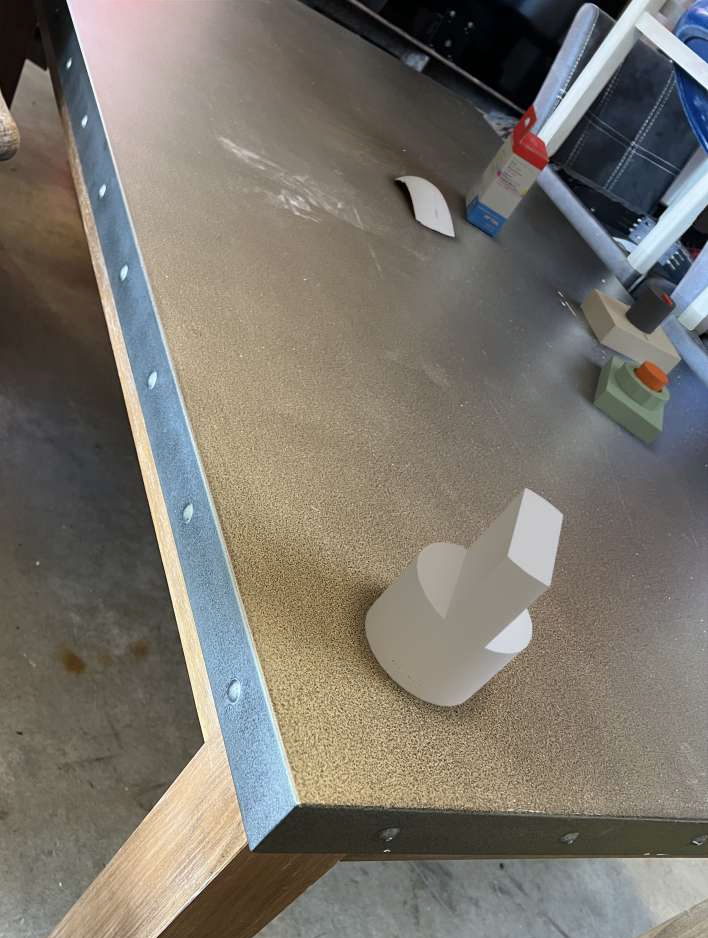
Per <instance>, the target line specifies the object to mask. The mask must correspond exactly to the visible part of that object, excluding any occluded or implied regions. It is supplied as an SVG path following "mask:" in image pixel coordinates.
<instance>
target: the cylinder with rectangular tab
mask: <svg viewBox="0 0 708 938" xmlns="http://www.w3.org/2000/svg"><path fill="white" fill-rule="evenodd" d="M563 519H564V514H563V513H562V512H561V511H560V510H559V509H557V508H556V507H555V506H554V505H553V504H551V503H550V502H549V501H547V499H545V498H543V497H542V496H541V495H539V494H538V493H535V492H534V491H532V490H531V489H529V488H527V487H525V488H524V489H522V491H521V492H520V493H519V494H518V495H517V496H516V497H515V498H514V499H513V500H512V501H511V502H510V503H509V504H508V505H507V506H506V507H505V509H504V510H503V511H502V512H501V513H500V514H499V515H498V516H497V517H496V518H495V519H494V521H492V522H491V523H490V525H488V526H487V527H486V529H485V530H484V531H483V532H482V533H481V534H480V535H479V536H478V537H477V539H476V540H474V542H472V544H471V545H470V546H469V547H468V548H465V547H463V546H462V545H459V544H455V543H450V542H446V541H442V542H432V543H430V544H428V545H426V546H424V547H423V548H422V549H421V550H420V551H419V553H417V554H416V556H415V557H414V558H413V559H412V560H411V561H410V563H408V565H406V567H404V569H403V570H402V572H400V574H399V575H397V577H396V578H395V579H394V580H393V581H392V582H391V584H390V585H389V586H388V587H387V588H386V589H385V590H384V591H383V592H382V593H381V595H380V596H379V597H378V598H377V599H376V600H375V602H374V603H373V604H372V605H371V606H370V608H369V609H368V611H367V612H366V615H365V620H364V629H365V637H366V640H367V642H368V645H369V648H370V650H371V652H372V654H373V656H374V658H375V659H376V660H377V662H378V664H379V665H380V667H381V668H382V669H383V670H384V671H385V673H386V674H387V675H388V676H389V677H390V678H391V680H393V681H394V682H395V683H396V684H397V685H399V686H400V687H401V688H402V689H403V690H405V691H406V692H407V693H409V694H410V695H412V696H414V697H416V698H418V699H419V700H421V701H422V702H423V701H424V702H426V703H429V704H432V705H435V706H440V707H454V706H457V705H458V706H459V705H462V704H463V703H465V702H466V701H468V700H469V699H470V698H471V697H472V696H474V694H475V693H477V692H478V691H479V690H480V689H481V688H482V687H484V686H485V685H486V684H487V683H488V682H489V681H490V680H491V679H492V678H493V677H494V676H496V675H497V674H498V673H499V672H500V671H502V669H503V668H505V667H506V666H507V665H508V664H509V663H510V662H511V661H513V660H514V659H515V658H516V657H517V656H518V655H519V654H520V653H522V652H523V651H524V650H525V649H526V648H527V647H528V646H529V644H530V642H531V640H532V637H533V623H532V619H531V615H530V612H529V610H528V609H529V607H530V606H531V605H532V604H534V602H535V601H536V600H538V598H539V597H541V596H542V595H543V594H544V593H545V592H546V591H547V590H548V589H550V587H551V585H552V579H553V573H554V567H555V562H556V558H557V552H558V548H559V541H560V537H561V536H560V535H561V530H562V525H563ZM387 654H388V655H387ZM389 657H390V658H391V659H393V661H394V662H393V661H392V660H391V659H390V658H389ZM396 664H397V666H398V667H399V668H400V669H401V670H402V671H403V672H404V673H403V672H402V671H401V670H400V669H399V668H398V667H397V666H396ZM408 676H409V677H410V678H411V679H410V678H409V677H408ZM413 680H414V681H413ZM417 683H418V684H417ZM420 685H421V686H420ZM438 694H439V695H438Z"/></svg>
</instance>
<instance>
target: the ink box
mask: <svg viewBox="0 0 708 938" xmlns="http://www.w3.org/2000/svg"><path fill="white" fill-rule="evenodd" d="M528 119H529V122H528V123H527V121H528ZM537 122H538V117H537V113H536V109H535V105H534V104H531V105H530V106H529V107H528V108H527V110H526V111H525V113H524V114H523V115H522V117H521V118H520V120H519V121H518V122H517V123H516V125H515V126H514V128H513V129H512V130H511V132H510V134H509V135H508V137H507V138H506V139H505V141H504V143H503V144H502V145H501V147H500V148H499V149H498V151H497V152H496V154H495V155H494V156H493V158H492V159H491V160H490V163H489V164H488V166H487V167H486V169H485V170H484V171H483V173H482V174H481V176H480V177H479V179H478V180H477V181H476V183H475V185H474V186H473V188H472V189H471V190H470V191H469V193H468V194H467V196H466V197H465V215H466V218H465V219H466V221H467V222H469V223H470V224H472V225H474V226H475V227H477V228H479V229H480V230H482V231H483V232H484V233H486V234H488V235H489V236H491V237H493V238H495V237H496V236H497V235H498V233H499V232H500V230H501V229H502V227H503V226H504V224H505V223H506V222H507V221H508V219H509V218H510V217H511V215H512V214H513V212H514V210H516V208H517V206H518V205H519V204H520V202H521V200H523V198H524V197H525V195H526V194H527V193H528V191H529V190H530V189H531V187H532V186H533V184H534V183H535V182H536V180H537V179H538V177H539V176H540V175H541V173H542V172H543V171H544V169H545V168H546V166H547V165H548V164H549V162H550V158H549V155H548V151H547V147H546V143H545V141H544V140H543V139H542V138H540V137H539V136H537V135H536V134H535V133H533V132H532V130H533V128H534V127H535V126H536V124H537Z"/></svg>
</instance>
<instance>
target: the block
mask: <svg viewBox="0 0 708 938" xmlns="http://www.w3.org/2000/svg"><path fill="white" fill-rule="evenodd" d="M640 366H641V364H640V363H638V362H637V361H635V360H626V361H625V362H624V361H623V360H622V359H620V358H618V357H617V356H616V355H615V354H613V355H612V356H611V357H610V358H608V360H607V361H606V362H605V363H604V364H603V366H602V367H601V368H600V372H599V376H598V380H597V385H596V389H595V392H594V393H595V394H594V398H593V401H592V404H593V405H594V406H595V407H597V408H598V409H599V410H601V411H602V412H603V413H605V414H606V415H607V416H609V417H610V418H611V419H612V420H614V421H615V422H616V423H618V424H619V425H621V427H623V428H625V429H626V430H627V431H629V432H630V433H631V434H633V435H634V436H635V437H637V438H638V439H639V440H641V442H643V443H645V444H646V445H647V446H649V445H650V444H651V443H652V442H653V441H654V440H655V439H657V437H658V436H659V435H660V434H661V433H663V424H664V413H665V412H664V411H665V405H666V404H667V403H668V402H669V401H670V398H671V393H670V391H669V390H668V388H667V387H666V384H665V385H664V387H663V388H662V389H661V390H660V391H659V392H658V393H657V392H655V391H653V390H651V389H650V388H649V387H647V386H646V385H645V384H643V383H642V382H641V381H640V380H639V379H638V378H637V376H636V374H635V373H634V372H635V371H636V370H637V369H638V368H639V367H640Z"/></svg>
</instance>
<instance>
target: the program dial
mask: <svg viewBox="0 0 708 938" xmlns="http://www.w3.org/2000/svg"><path fill="white" fill-rule="evenodd" d="M676 308H677V303H676V302H675V301H674V299H673V298H672V297H671V296H670V295H669V294H667V292H666V291H664V290H662V289H661V288H660V287H658V286H656V285H653V284H650V285H649V286H648V287H647V288H646V289H645V291H643V293H642V294H641V295H640V296H639V297H638V299H636V301H634V303H633V304H632V305H630V309H629V310H628V311H627V312H626V316H627V318H628V319H629V321H630V322H631V323H632V324H633V325H634V326H636V327H637V328H638V329H639V330H641V331H643V332H645V333H647V334H651V333H652V332H653V331H654V330H655V329H656V328H657V327H658V326H659V325H660V326H661V324H662V323H663V322H664V321H665V320H666V319H667V317H668V316H669V315H670V314H671V313H672V312H673V311H674V310H675V309H676Z"/></svg>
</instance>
